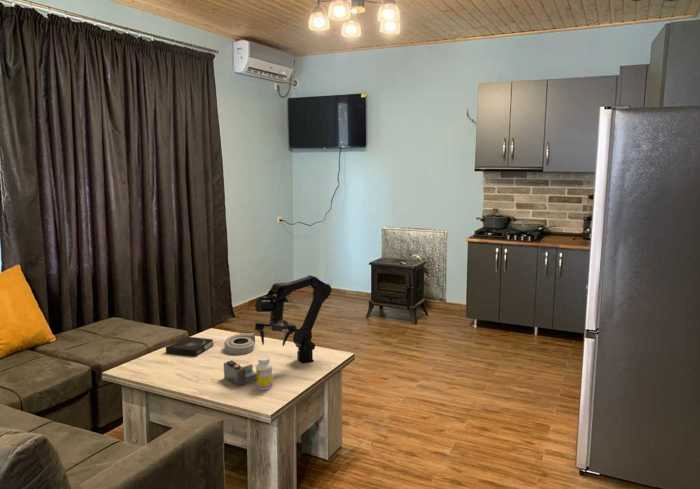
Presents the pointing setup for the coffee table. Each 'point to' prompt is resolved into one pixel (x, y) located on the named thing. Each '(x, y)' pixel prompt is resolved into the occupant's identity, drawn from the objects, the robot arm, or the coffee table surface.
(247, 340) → the turbocharger housing
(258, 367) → the supplement bottle
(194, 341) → the portable cd player
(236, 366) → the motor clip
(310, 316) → the robot arm
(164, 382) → the coffee table surface
